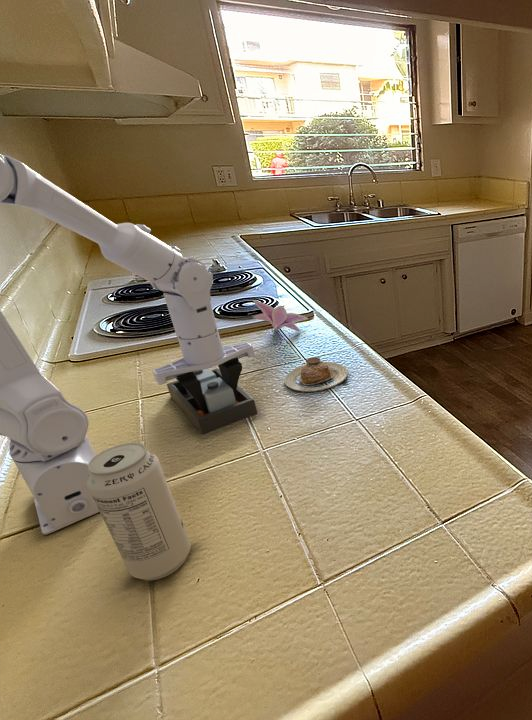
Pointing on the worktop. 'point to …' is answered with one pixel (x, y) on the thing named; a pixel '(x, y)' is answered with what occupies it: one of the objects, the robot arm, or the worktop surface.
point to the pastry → (316, 374)
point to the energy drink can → (138, 510)
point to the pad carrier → (215, 419)
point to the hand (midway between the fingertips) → (219, 405)
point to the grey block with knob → (203, 377)
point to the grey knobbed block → (217, 395)
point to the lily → (278, 317)
